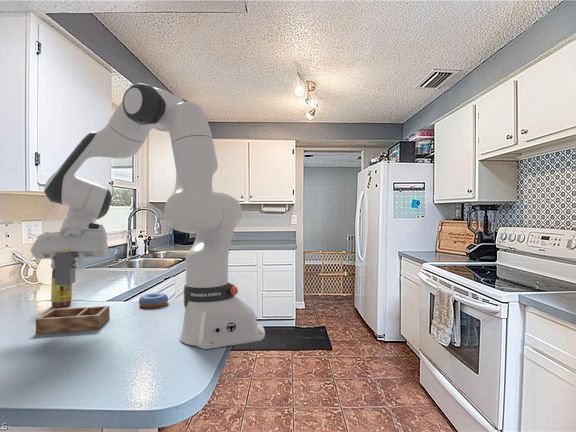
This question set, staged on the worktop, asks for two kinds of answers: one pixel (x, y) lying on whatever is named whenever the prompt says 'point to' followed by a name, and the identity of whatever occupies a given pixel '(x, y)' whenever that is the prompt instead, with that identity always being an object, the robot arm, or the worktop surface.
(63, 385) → the worktop surface
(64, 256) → the push button
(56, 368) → the worktop surface
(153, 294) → the doughnut
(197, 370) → the worktop surface
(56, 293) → the sauce bottle
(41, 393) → the worktop surface
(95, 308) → the caddy
